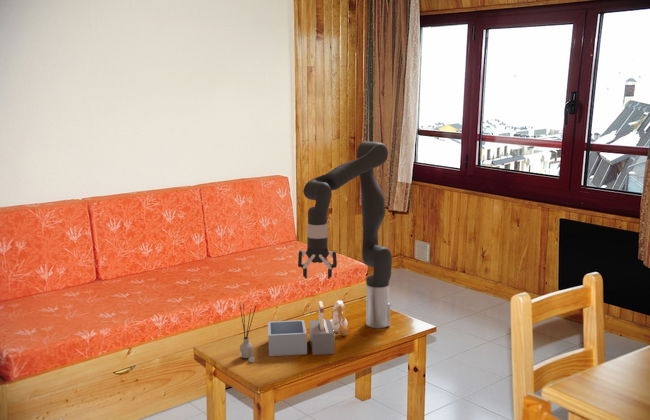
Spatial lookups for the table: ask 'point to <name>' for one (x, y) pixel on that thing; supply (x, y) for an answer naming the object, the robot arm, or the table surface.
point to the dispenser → (321, 338)
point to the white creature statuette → (335, 318)
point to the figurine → (342, 329)
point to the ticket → (321, 316)
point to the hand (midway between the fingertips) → (317, 278)
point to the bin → (287, 338)
